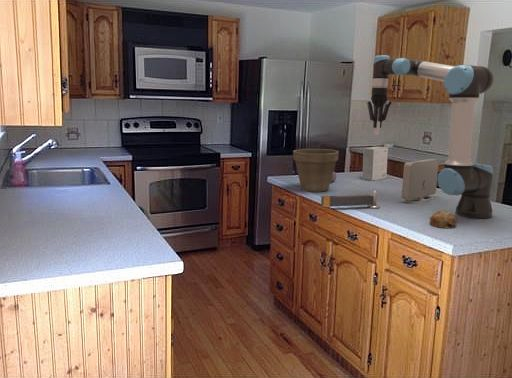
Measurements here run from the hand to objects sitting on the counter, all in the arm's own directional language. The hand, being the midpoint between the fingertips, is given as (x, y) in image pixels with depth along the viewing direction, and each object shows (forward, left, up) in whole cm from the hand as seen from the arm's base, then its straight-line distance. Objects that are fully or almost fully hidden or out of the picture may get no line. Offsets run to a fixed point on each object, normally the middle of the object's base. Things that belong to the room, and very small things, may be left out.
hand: (376, 134), depth 240 cm
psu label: (-2, +10, -32) cm, 34 cm away
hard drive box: (+48, -22, -33) cm, 62 cm away
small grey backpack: (+41, +17, -33) cm, 55 cm away
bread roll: (-56, -6, -33) cm, 66 cm away
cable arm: (-25, +24, -31) cm, 46 cm away
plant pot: (+20, +26, -33) cm, 46 cm away
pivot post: (-24, +10, -32) cm, 42 cm away
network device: (-11, -20, -33) cm, 40 cm away
